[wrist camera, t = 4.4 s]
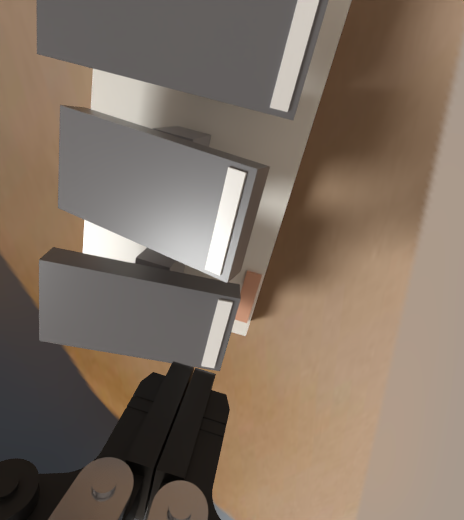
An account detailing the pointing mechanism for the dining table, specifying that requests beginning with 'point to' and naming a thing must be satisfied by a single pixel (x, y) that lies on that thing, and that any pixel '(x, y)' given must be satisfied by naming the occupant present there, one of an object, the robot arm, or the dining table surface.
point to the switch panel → (227, 140)
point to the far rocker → (134, 309)
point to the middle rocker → (159, 190)
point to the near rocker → (192, 45)
